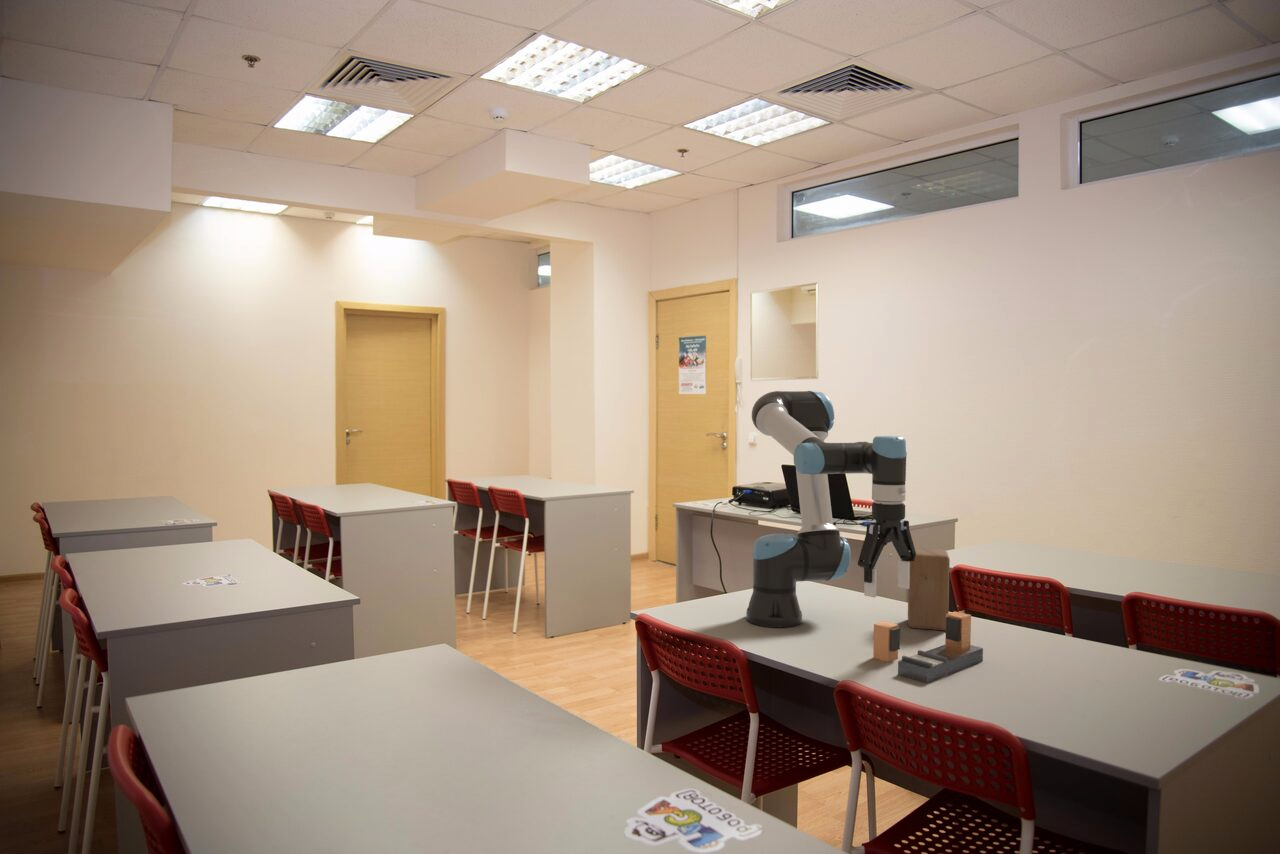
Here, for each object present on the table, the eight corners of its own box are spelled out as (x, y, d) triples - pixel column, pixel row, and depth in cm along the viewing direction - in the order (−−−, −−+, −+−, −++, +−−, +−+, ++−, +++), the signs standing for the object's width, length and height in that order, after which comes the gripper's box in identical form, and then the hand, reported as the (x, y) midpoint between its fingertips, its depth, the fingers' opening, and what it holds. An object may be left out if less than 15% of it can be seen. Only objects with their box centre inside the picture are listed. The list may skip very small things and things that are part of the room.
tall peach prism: (883, 654, 196) (883, 621, 196) (900, 659, 193) (901, 625, 192) (873, 657, 194) (873, 624, 194) (891, 662, 190) (891, 628, 190)
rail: (897, 674, 182) (898, 625, 181) (954, 653, 197) (955, 608, 197) (926, 683, 177) (927, 632, 176) (982, 660, 192) (983, 614, 191)
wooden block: (908, 628, 218) (909, 554, 217) (907, 618, 228) (908, 547, 227) (948, 632, 215) (949, 556, 215) (945, 622, 225) (947, 549, 224)
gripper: (870, 507, 181) (869, 603, 182) (932, 499, 197) (930, 587, 198) (842, 504, 187) (841, 596, 188) (904, 496, 203) (903, 581, 204)
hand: (887, 592), depth 193 cm, fingers open, 13 cm apart
